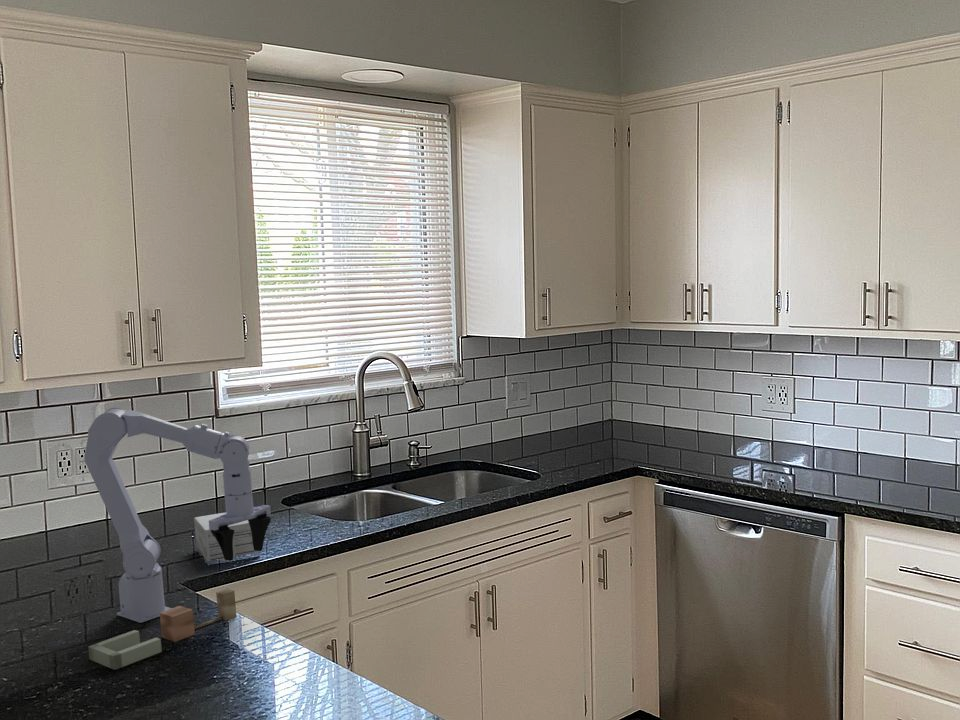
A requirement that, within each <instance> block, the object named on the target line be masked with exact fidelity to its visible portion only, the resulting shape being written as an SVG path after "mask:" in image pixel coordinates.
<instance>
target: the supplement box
mask: <svg viewBox="0 0 960 720" xmlns="http://www.w3.org/2000/svg"><path fill="white" fill-rule="evenodd" d="M224 514H226V511H225V512H221V513H220V512H219V513H214V514H207V515H200V516H196V517H193V518H194V521H193V523H194V530H195V541H196V542H195V543H196V548H197V547H198V548H199V550H200V551H201V553H202V554H203V556H204V557H205V558H206V560H207V561H212V560H216V559H223V558H224V556H223V553H222V550H221V548H220V545H219V543H218V541H217V540H216V538H215V537H214V535H213V534H212V533H211V530H210V529H209V520H212V519H215V518H217V517H219V516H222V515H224ZM228 527H229V528H230V529H232V530H234V535H233V557H235V556H241V555H245V554H250V553H255V552H261V551H257V550H254V547H253V541H252V533H251V528H250V525H249V522H248V520H246V521H243V522H239V523H236V524H232V525H229V526H228Z"/></svg>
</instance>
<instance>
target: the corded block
mask: <svg viewBox="0 0 960 720" xmlns="http://www.w3.org/2000/svg"><path fill="white" fill-rule="evenodd" d="M215 593H216V595H215V596H216V604H217V605H216V606H217V618H212V619H210V620H208V621H205V622H202V623H200V624H197V625H195V619H194V612H193V611H194V610H193V609H192V608H188V607H185V606H182V605H177V606H175V607H172V609H169V610H166V611H163V612H160V616H159V621H160V622H159V623H160V633H161V638H162V639H165V640H168V641H171V642H174V643H176V642H178V641H181V640H184V639H187V638H190V637H192V636H194V635H196V632H195V631H196V630H197V629H200V628H202V627H206V626H207V625H211V624H212V623H216V622H218V621H222V620H223V621H228V620H231V619H234V618H237V615H238V614H237V606H236V595H235V594H236V593H235V590H233V589H230V588H225V589H222V590H218V591H217V592H215Z"/></svg>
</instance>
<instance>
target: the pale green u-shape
mask: <svg viewBox="0 0 960 720" xmlns="http://www.w3.org/2000/svg"><path fill="white" fill-rule="evenodd" d="M140 638H141V637H140V631H139V630H137V629H133V630H130V631H128V632H126V633H125V632H124V633H122V634H118V635H116V636H113V637H111V638H108V639H105V640H102V641H100V642H97V643H94V644H92V645H89V646H88V657H89V660H90V661H92V662H95V663H97V664H99V665H101V666H104V667H107V668H109V669H111V670H113V671H114V670H119V669H120V668H124V667H126V666H128V665H131V664H134V663H136V662H139V661H142V660H144V659H146V658H150V657H152V656H155V655H157V654H160V653H162V652H163V651H162V650H163V649H162V641H161V640H162V639H161V638H159V637H154V638H151V639H147V640H145V641H142V642H141V639H140Z"/></svg>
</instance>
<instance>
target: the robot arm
mask: <svg viewBox="0 0 960 720" xmlns="http://www.w3.org/2000/svg"><path fill="white" fill-rule="evenodd" d="M208 427H209V425H208V424H205V423H202V424H201V425H198V424H195V425H192V426H191V427H185V426H181V425H179V424H175V423H172V422H170V421H167V420H163V419H162V418H161V419H160V418H158V417H155V416H152V415H149V414H147V413H145V412H144V413H142V412H139V411H136V410H132V409H131V410H130V409H127V410H126V409H124V408H122V407H117V406H116V407H111V408H108V409H106V410H105V411H104V412H103V413H101V414H99V415H97V417H96V418H95V419H94V420H93V422H92V424H91V425H90V426H89V428H88V430H87V440H86V445H85V451H84V462H85V465H86V467H87V468H88V471H89V473H90V476H91V477H92V480H93V482H94V485H95V487H96V489H97V491H98V494H99V495H100V498H101V499H102V502H103V504H104V506H105V509H106V511H107V513H108V515H109V518H110V520H111V522H112V524H113V526H114V528H115V531H116V533H117V535H118V538H119V548H120V551H121V554H122V567H123V569H124V571H125V572H124V573H123V574H121V577H120V579H119V581H118V594H119V603H120V604H119V606H120V611H119V612H117V613H116V615H117V616H118V617H122V618H125V619H128V620H131V621H134V622H137V623H140V624H141V623H144V622H147V621H150V620H153V619H157V618H160V612H163V611H166V610H169V609H172V608H173V607H172V608H171V607H169V606H166V604H165V603H166V601H165V592H164V590H165V589H164V581H163V580H164V579H163V571H162V567H161V566H160V565H159V563H158V560H159V558H160V556H161V551H162V550H161V546H160V544H159V542H158V541H157V540H156V539H154V538H153V537H152V536H151V535H150V532H149V530H148V529H147V528H146V526H145V525H143V524H142V521H141V519H140V517H139V515H138V513H137V510H136V508H135V506H134V504H133V501H132V499H131V497H130V494H129V492H128V490H127V488H126V486H125V483H124V481H123V479H122V476H121V475H120V472H119V470H118V468H117V466H116V464H115V461H114V459H113V455H114V453H115V451H116V450H117V447H118V445H119V443H120V441H122V439H124V437H126V436H127V438H130V437H134V436H139V435H142V434H145V435H149V436H154V437H158V438H161V439H165V440H169V441H172V442H177V443H181V444H182V445H183V446H184V448H185V450H186V451H187V452H190V453H194V454H197V455H199V456H200V455H201V456H204V457H206V458H211V459H214V460H218V459H220V461H221V462H222V465H223V472H222V479H223V491H224V503H225V512H226V514H224V515H222V516H219V517H217V518H215V519H212V520H209V529H210V530H211V533H212V534H213V535H214V537H215V538H216V540H217V541H218V543H219V545H220V548H221V550H222V553H223V556H224V559H225V560H229V561H231V560H233V535H234V530H232V529H230V528H229V527H228V526H229V525H232V524H236V523H239V522H243V521H246V520H248V522H249V525H250V528H251V533H252V541H253V547H254V550H257V551H260V552H262V551H263V548H264V541H265V535H266V534H267V530H268V527H269V526H270V524H271V516H270V515H271V514H272V512H271V505H266V504H262V505H259V506H254V499H253V498H254V496H253V486H252V477H251V476H252V475H251V474H252V473H251V469H250V461H249V454H250V452H249V451H250V446H249V443H248V441H247V439H245V438H244V437H243V436H240V435H239V434H231V433H230V432H229V431H225V432H221V431H217V430H214V429H213V428H208Z"/></svg>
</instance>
